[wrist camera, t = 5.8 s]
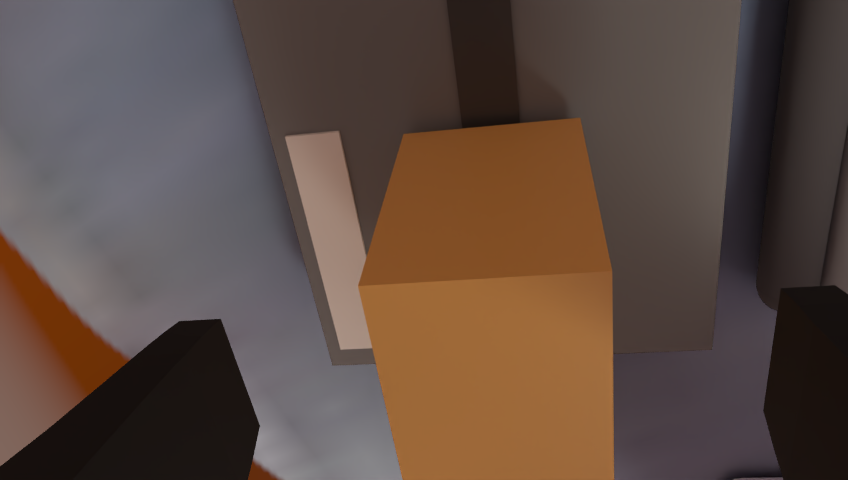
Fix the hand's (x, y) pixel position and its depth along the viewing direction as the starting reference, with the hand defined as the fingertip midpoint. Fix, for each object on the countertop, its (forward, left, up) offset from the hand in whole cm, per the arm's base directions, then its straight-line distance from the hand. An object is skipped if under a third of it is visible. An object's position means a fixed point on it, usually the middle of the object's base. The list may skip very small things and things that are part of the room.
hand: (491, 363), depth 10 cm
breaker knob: (0, 0, -4) cm, 4 cm away
